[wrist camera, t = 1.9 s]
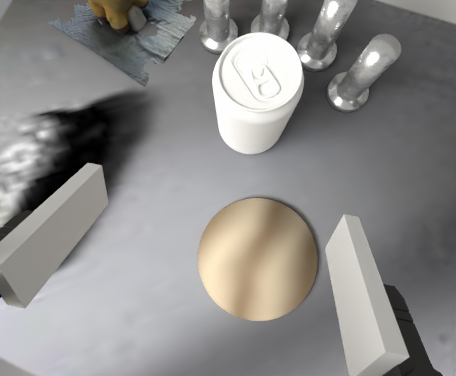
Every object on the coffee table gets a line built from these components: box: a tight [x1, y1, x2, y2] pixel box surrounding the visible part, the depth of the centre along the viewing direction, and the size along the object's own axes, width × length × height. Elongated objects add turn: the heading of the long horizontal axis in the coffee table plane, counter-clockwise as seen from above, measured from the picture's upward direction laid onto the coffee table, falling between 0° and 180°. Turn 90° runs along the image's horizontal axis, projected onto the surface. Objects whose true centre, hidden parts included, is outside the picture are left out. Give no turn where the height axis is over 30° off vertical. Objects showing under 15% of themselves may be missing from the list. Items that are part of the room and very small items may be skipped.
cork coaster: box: [198, 198, 318, 321], centre depth 31 cm, size 14×14×1 cm
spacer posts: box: [200, 0, 401, 113], centre depth 31 cm, size 23×12×9 cm, turn 78°
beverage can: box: [212, 32, 304, 154], centre depth 28 cm, size 8×8×12 cm
